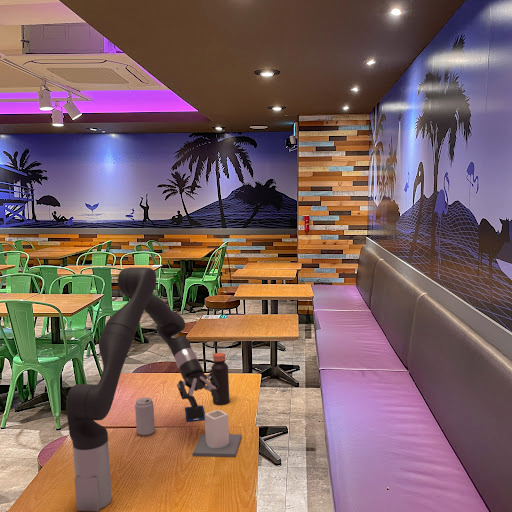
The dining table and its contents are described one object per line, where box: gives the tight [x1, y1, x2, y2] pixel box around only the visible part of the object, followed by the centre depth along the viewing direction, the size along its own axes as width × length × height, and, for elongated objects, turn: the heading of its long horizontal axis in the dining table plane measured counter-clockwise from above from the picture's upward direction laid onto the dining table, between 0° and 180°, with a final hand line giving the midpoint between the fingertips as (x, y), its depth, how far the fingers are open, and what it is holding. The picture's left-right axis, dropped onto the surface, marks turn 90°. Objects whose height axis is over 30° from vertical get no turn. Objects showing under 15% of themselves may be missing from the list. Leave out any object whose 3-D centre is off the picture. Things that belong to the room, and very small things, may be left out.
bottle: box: [210, 352, 230, 406], centre depth 210 cm, size 7×7×20 cm
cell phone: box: [184, 405, 206, 423], centre depth 200 cm, size 7×14×1 cm, turn 11°
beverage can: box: [134, 397, 156, 437], centre depth 185 cm, size 6×6×12 cm
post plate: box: [191, 433, 243, 458], centre depth 173 cm, size 14×14×7 cm
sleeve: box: [204, 409, 230, 449], centre depth 173 cm, size 6×6×10 cm
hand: (207, 404), depth 176 cm, fingers open, 8 cm apart
